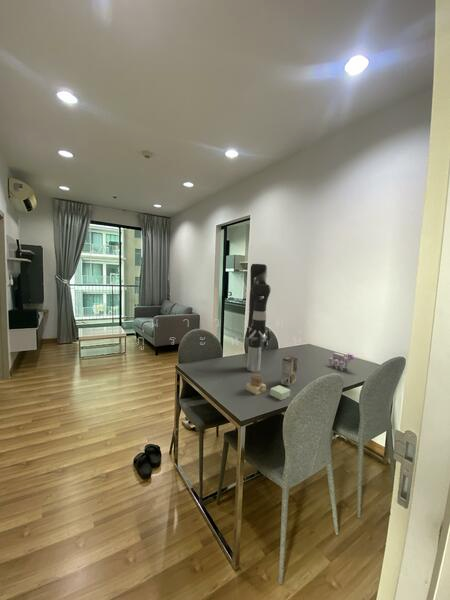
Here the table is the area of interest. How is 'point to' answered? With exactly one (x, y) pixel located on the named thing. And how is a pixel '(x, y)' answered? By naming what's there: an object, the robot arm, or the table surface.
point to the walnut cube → (256, 380)
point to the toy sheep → (341, 360)
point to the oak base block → (256, 388)
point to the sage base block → (280, 392)
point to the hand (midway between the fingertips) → (257, 345)
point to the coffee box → (289, 370)
